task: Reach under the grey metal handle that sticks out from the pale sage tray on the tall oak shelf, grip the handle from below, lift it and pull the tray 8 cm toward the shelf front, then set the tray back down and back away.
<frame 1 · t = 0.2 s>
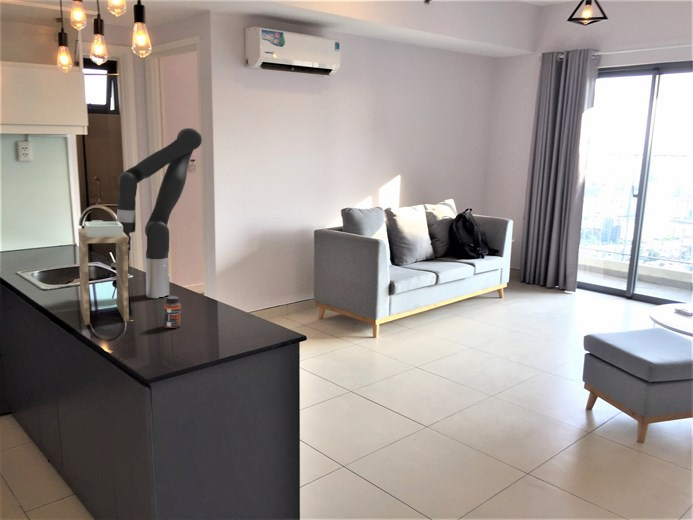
hand: (124, 258, 245), 17 cm above the countertop, tool pointing down, fingers open, 8 cm apart
oak shelf: (104, 314, 223), on the countertop
supplement bottle: (172, 327, 213), on the countertop
tray: (103, 234, 213), point 32 cm above the countertop, touching oak shelf
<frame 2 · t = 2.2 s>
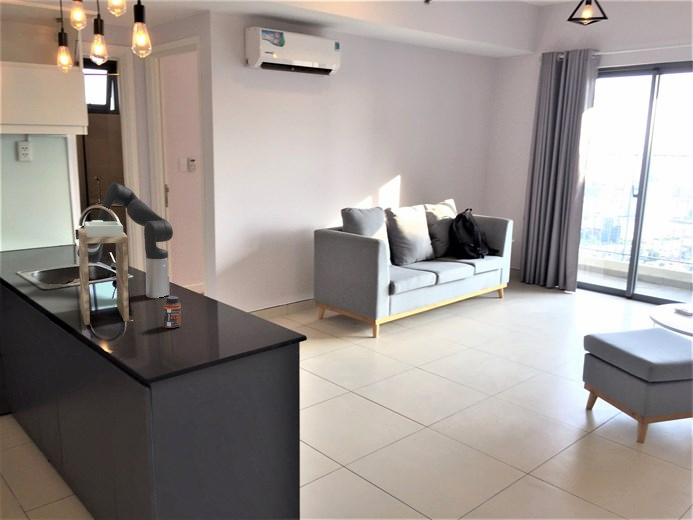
hand: (94, 227, 249), 29 cm above the countertop, tool pointing upward, fingers open, 8 cm apart
nothing on the countertop moved.
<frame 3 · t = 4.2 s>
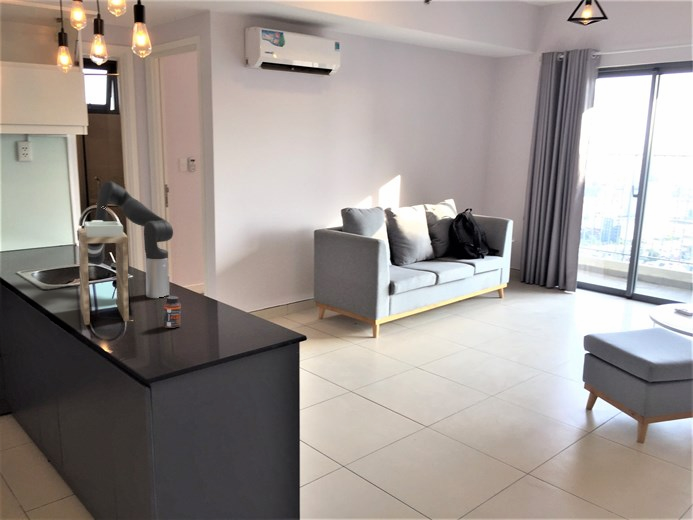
hand: (96, 228, 238), 30 cm above the countertop, tool pointing upward, fingers open, 8 cm apart
nothing on the countertop moved.
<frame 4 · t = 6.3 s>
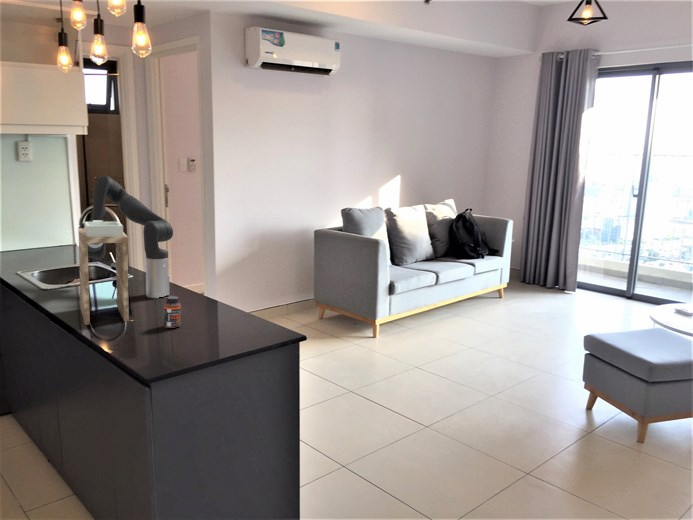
hand: (98, 220, 231), 34 cm above the countertop, tool pointing upward, fingers closed on tray, 4 cm apart
tray: (103, 234, 213), point 32 cm above the countertop, touching gripper, oak shelf
everything else where it was.
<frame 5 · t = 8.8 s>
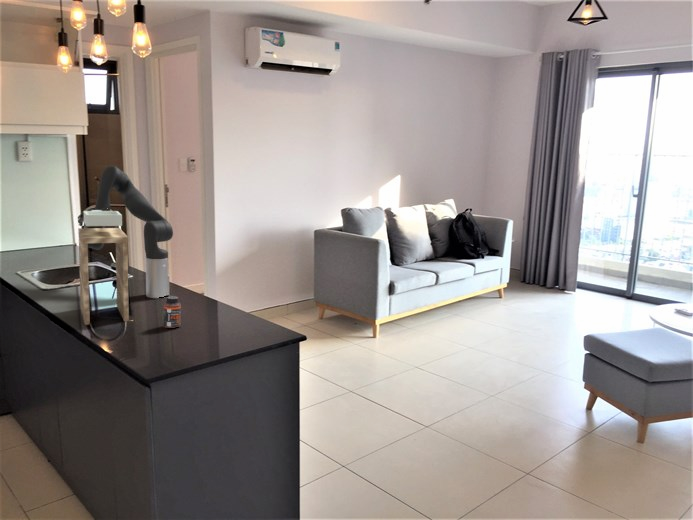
hand: (97, 210, 233), 38 cm above the countertop, tool pointing upward, fingers closed on tray, 4 cm apart
tray: (102, 223, 215), point 36 cm above the countertop, touching gripper
everything else where it was.
when the fingers open (35 cm above the countertop, at t = 11.4 s): tray stays where it is, resting on oak shelf.
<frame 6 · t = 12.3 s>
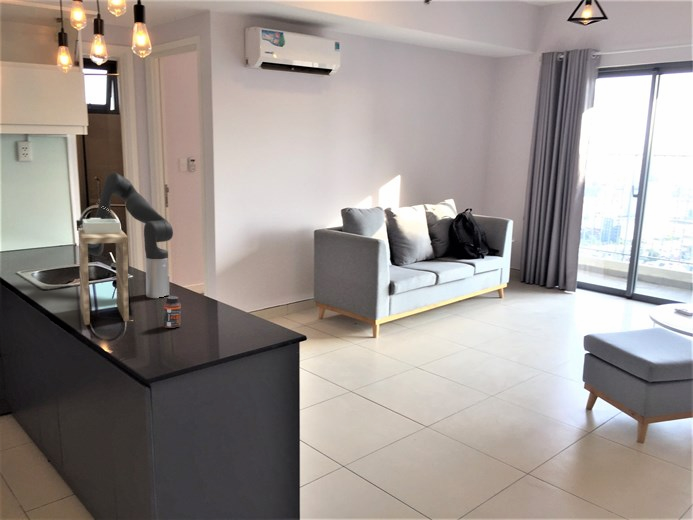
hand: (96, 218, 239), 34 cm above the countertop, tool pointing upward, fingers open, 8 cm apart
tray: (101, 231, 220), point 32 cm above the countertop, touching oak shelf
everything else where it was.
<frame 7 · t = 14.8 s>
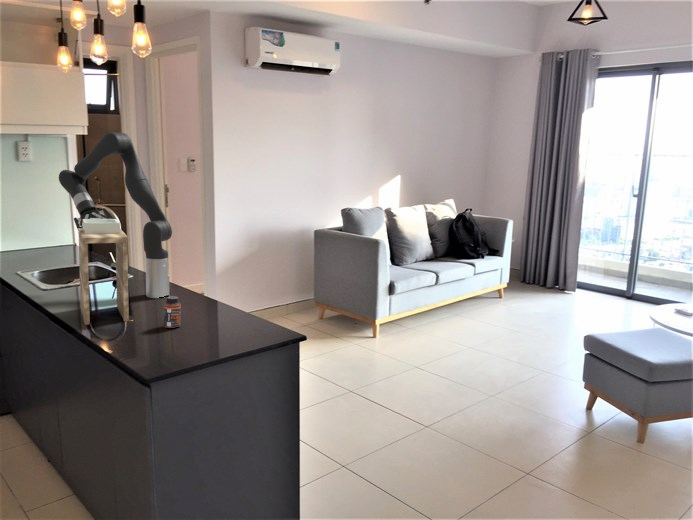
hand: (98, 232, 251), 27 cm above the countertop, tool tilted 50°, fingers open, 8 cm apart
nothing on the countertop moved.
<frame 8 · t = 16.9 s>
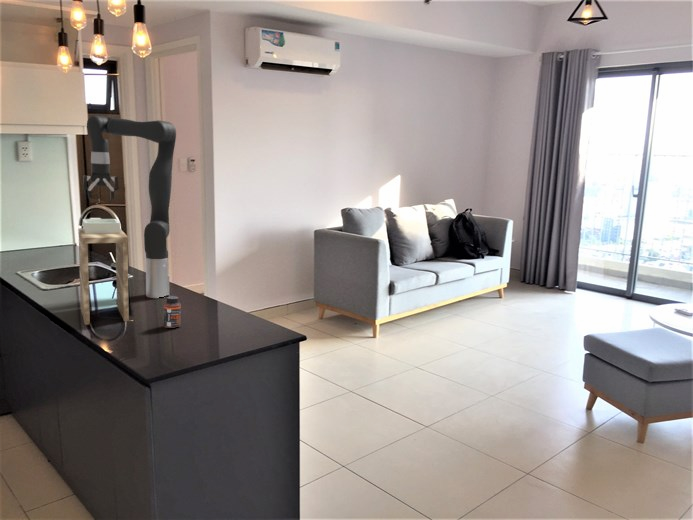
hand: (101, 199, 257), 40 cm above the countertop, tool pointing down, fingers open, 8 cm apart
nothing on the countertop moved.
at the end: tray moved 7.9 cm from its start; tray inside the target area (0.2 cm from its centre), point 32.0 cm above the countertop; tray tilted 0° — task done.
